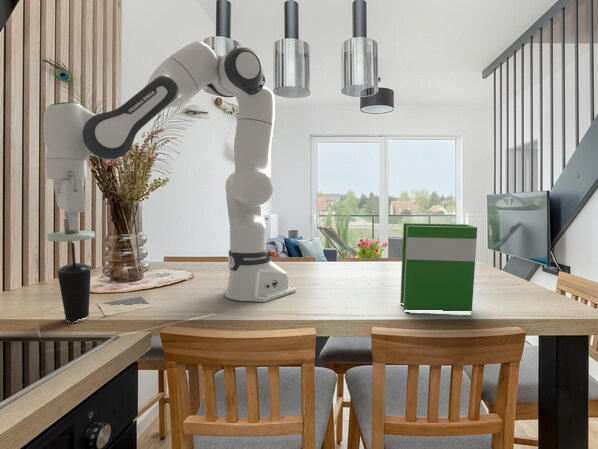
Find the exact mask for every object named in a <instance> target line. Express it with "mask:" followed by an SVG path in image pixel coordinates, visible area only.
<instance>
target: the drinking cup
mask: <svg viewBox="0 0 598 449" xmlns="http://www.w3.org/2000/svg"><path fill="white" fill-rule="evenodd" d="M70 246H71V247H70V248H71V260H72V261H71V262H72V263H68V264H65V265H63V266H61V267H59V268H57V269H56V271H55V272H56V274H57V277H58V283H59V289H60V293H61V300H62V307H63V311H64V317H65V320H66V319H67V320H68V321H70V322H74V321H77V320H78V319H82V318H85V317H87V316H89V314H90V292H91V291H90V290H91V274H92V272H91V271H92V269H93V267H92V266H91V265H89V264H85V263H80V262H76V248H75V242H71V245H70Z"/></svg>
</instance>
